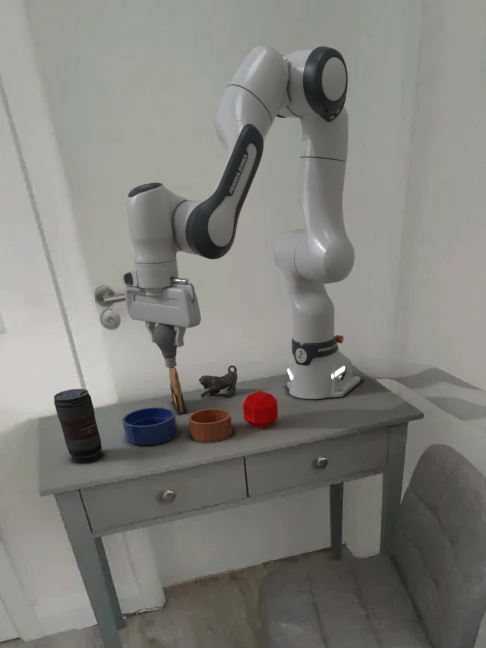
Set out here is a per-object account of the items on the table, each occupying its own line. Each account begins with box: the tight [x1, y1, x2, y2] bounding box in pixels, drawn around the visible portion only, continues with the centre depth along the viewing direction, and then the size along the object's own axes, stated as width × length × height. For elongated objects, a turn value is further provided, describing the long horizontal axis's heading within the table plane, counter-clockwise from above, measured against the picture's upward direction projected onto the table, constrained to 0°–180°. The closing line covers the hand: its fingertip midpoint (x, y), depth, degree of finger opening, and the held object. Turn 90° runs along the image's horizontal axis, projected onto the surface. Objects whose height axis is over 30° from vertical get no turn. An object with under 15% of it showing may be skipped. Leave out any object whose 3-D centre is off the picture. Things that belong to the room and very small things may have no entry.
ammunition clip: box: [168, 366, 186, 415], centre depth 163 cm, size 11×2×12 cm, turn 16°
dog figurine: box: [198, 365, 238, 399], centre depth 171 cm, size 12×6×7 cm, turn 114°
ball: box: [242, 390, 279, 430], centre depth 151 cm, size 8×8×8 cm
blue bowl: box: [121, 406, 179, 446], centre depth 150 cm, size 13×13×5 cm
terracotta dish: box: [188, 408, 233, 443], centre depth 149 cm, size 10×10×4 cm
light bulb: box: [153, 323, 178, 369], centre depth 137 cm, size 6×6×10 cm
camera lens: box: [53, 388, 103, 464], centre depth 139 cm, size 8×8×15 cm
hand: (167, 344), depth 137 cm, fingers closed on light bulb, 6 cm apart
